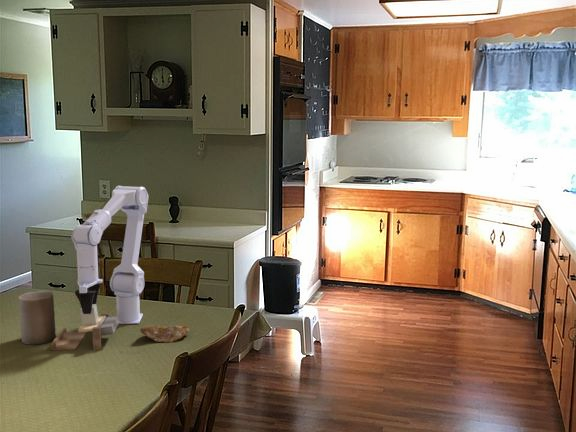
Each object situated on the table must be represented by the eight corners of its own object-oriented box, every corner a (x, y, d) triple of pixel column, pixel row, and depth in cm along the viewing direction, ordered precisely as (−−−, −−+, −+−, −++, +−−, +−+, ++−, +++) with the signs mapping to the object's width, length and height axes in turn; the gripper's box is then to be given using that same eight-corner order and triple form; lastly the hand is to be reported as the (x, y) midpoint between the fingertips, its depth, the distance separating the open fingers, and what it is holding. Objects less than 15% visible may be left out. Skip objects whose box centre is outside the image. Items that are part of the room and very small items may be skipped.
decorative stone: (138, 319, 193) (187, 320, 198) (137, 333, 194) (186, 333, 199) (141, 329, 184) (192, 329, 189) (140, 343, 185) (191, 343, 190)
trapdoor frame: (63, 333, 195) (63, 313, 194) (109, 332, 196) (109, 312, 195) (50, 350, 180) (49, 329, 179) (100, 349, 182) (99, 328, 181)
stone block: (85, 321, 189) (82, 305, 189) (98, 319, 190) (96, 303, 189) (82, 325, 186) (79, 309, 185) (96, 324, 186) (93, 307, 185)
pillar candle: (63, 336, 192) (60, 288, 190) (38, 346, 183) (35, 296, 181) (39, 332, 196) (36, 285, 194) (13, 342, 187) (10, 292, 185)
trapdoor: (87, 326, 193) (86, 317, 193) (119, 322, 194) (117, 313, 194) (79, 339, 183) (77, 329, 182) (112, 334, 183) (111, 325, 183)
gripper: (96, 271, 178) (98, 317, 180) (106, 259, 192) (107, 302, 195) (70, 271, 178) (73, 318, 180) (82, 260, 192) (84, 303, 194)
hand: (89, 310), depth 187 cm, fingers open, 6 cm apart
